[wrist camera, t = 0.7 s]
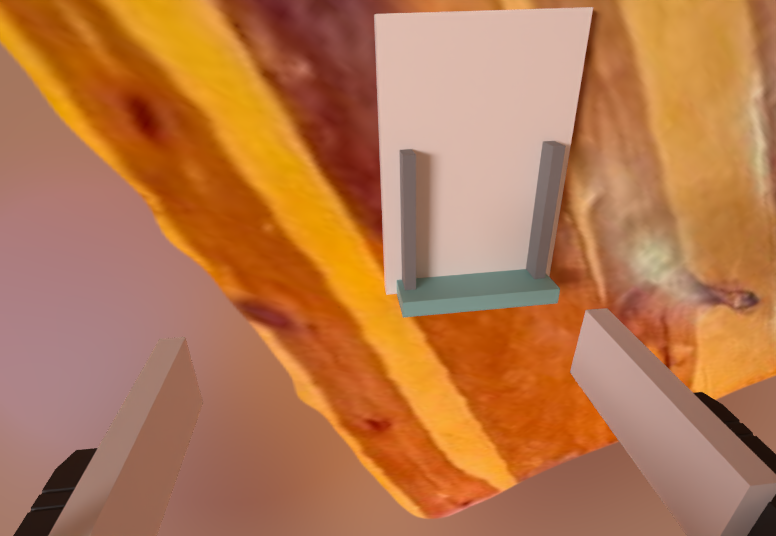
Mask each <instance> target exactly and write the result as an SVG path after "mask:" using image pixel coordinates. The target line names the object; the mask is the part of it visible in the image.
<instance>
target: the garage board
mask: <svg viewBox="0 0 776 536" xmlns="http://www.w3.org/2000/svg"><path fill="white" fill-rule="evenodd" d="M592 11H593V7H588V8H555V9H523V10H490V11H458V12H425V13H393V14H375V15H374V24H375V49H376V74H377V99H378V124H379V149H380V174H381V199H382V225H383V250H384V275H385V290H386V295H387V294H397V296H398V300H399V304H400V308H401V312H402V315H403V317H412V316H423V315H434V314H445V313H456V312H467V311H478V310H488V309H499V308H510V307H521V306H532V305H543V304H554V303H558V298H559V292H560V288H559V287H558V286H557V285H556V284H555V283H554V282H553V280H552V279H551V278H550V277H549V276H550V269H551V263H552V257H553V251H554V245H555V239H556V233H557V226H558V220H559V214H560V208H561V202H562V196H563V190H564V183H565V177H566V171H567V165H568V159H569V153H570V147H571V140H572V134H573V128H574V122H575V116H576V110H577V104H578V97H579V91H580V85H581V79H582V73H583V67H584V61H585V54H586V48H587V42H588V36H589V30H590V24H591V18H592Z"/></svg>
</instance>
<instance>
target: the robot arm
mask: <svg viewBox="0 0 776 536" xmlns="http://www.w3.org/2000/svg"><path fill="white" fill-rule="evenodd" d="M570 373H571V374H572V376H573V377H574V378H575V380H576V381H577V383H578V384H579V385H580V387H581V388H582V390H583V391H584V392H585V394H586V395H587V397H588V398H589V399H590V401H591V402H592V404H593V405H594V406H595V408H596V409H597V411H598V412H599V413H600V415H601V416H602V418H603V419H604V420H605V422H606V423H607V425H608V426H609V427H610V429H611V430H612V432H613V433H614V434H615V436H616V437H617V439H618V440H619V441H620V443H621V444H622V446H623V447H624V448H625V450H626V451H627V453H628V454H629V455H630V457H631V458H632V460H633V461H634V462H635V464H636V465H637V466H638V468H639V469H640V471H641V472H642V474H643V475H644V476H645V478H646V479H647V480H648V482H649V483H650V485H651V486H652V488H653V489H654V491H655V492H656V493H657V494H658V496H659V497H660V499H661V500H662V502H663V503H664V504H665V506H666V507H667V509H668V510H669V511H670V513H671V514H672V516H673V517H674V519H675V520H676V521H677V523H678V524H679V526H680V527H681V528H682V530H683V531H684V533H685V534H686V535H687V536H776V454H775V453H774V452H773V451H772V450H771V449H770V448H768V447H767V446H766V445H765V444H764V443H763V442H762V441H761V440H760V439H759V438H758V437H757V436H753V433H752V432H751V431H750V430H749V429H748V428H747V427H746V426H745V425H744V424H743V423H740V422H739V419H738V418H736V417H735V416H734V415H733V414H732V413H731V412H730V411H729V410H728V409H727V408H726V407H725V406H724V405H722V404H721V403H719V402H718V401H716V400H714V399H713V398H711V397H709V396H708V395H706V394H704V393H703V392H697V393H693V392H691V391H690V390H689V389H688V388H687V387H686V386H685V385H684V384H683V383H682V382H681V381H680V380H679V379H678V378H677V377H676V376H675V375H674V374H673V373H672V372H671V371H670V370H669V369H668V368H667V367H666V366H665V365H664V364H663V363H662V362H661V361H660V360H659V359H658V358H657V357H656V356H655V355H654V354H653V353H652V352H651V351H650V350H649V349H648V348H647V347H646V346H645V345H644V344H643V343H642V342H641V341H640V340H639V339H638V338H637V337H636V336H635V335H634V334H633V333H632V332H631V331H629V330H628V329H627V328H626V327H625V326H624V325H623V324H622V323H621V322H620V321H619V320H618V319H617V318H616V317H615V316H614V315H613V314H612V313H611V312H610V311H609V310H608V309H592V310H586V312H585V316H584V320H583V323H582V327H581V331H580V335H579V339H578V343H577V347H576V351H575V355H574V359H573V363H572V367H571V371H570ZM202 405H203V401H202V397H201V393H200V389H199V386H198V382H197V378H196V375H195V371H194V367H193V364H192V360H191V356H190V352H189V349H188V345H187V341H186V338H185V337H181V338H167V339H159V341H158V343H157V344H156V346H155V348H154V350H153V351H152V353H151V355H150V357H149V359H148V360H147V362H146V364H145V366H144V367H143V369H142V371H141V373H140V374H139V376H138V378H137V380H136V381H135V383H134V385H133V387H132V389H131V390H130V392H129V394H128V396H127V397H126V399H125V401H124V403H123V404H122V406H121V408H120V410H119V412H118V413H117V415H116V417H115V419H114V420H113V422H112V424H111V426H110V428H109V429H108V431H107V433H106V435H105V436H104V438H103V440H102V442H101V443H100V445H99V447H98V448H94V449H84V450H76V451H75V452H74V453H73V454H71V455H70V457H68V458H67V459H66V460H65V461H64V462H63V463H62V464H61V465H60V466H58V467H57V468H56V469H55V471H54V472H53V474H52V476H51V477H50V479H49V480H48V482H47V483H46V485H45V487H44V488H43V490H42V494H41V495H39V496H38V498H37V499H36V501H35V503H34V504H33V506H32V507H31V511H30V512H29V513H27V515H26V517H25V518H24V520H23V521H22V523H21V525H20V526H19V528H18V529H17V531H16V532H15V534H14V535H13V536H157V534H158V531H159V528H160V525H161V522H162V519H163V517H164V513H165V511H166V508H167V505H168V502H169V499H170V496H171V493H172V491H173V488H174V485H175V482H176V479H177V476H178V473H179V471H180V468H181V465H182V462H183V459H184V456H185V453H186V450H187V447H188V445H189V442H190V439H191V436H192V433H193V430H194V427H195V425H196V422H197V419H198V415H199V413H200V410H201V407H202Z"/></svg>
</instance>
